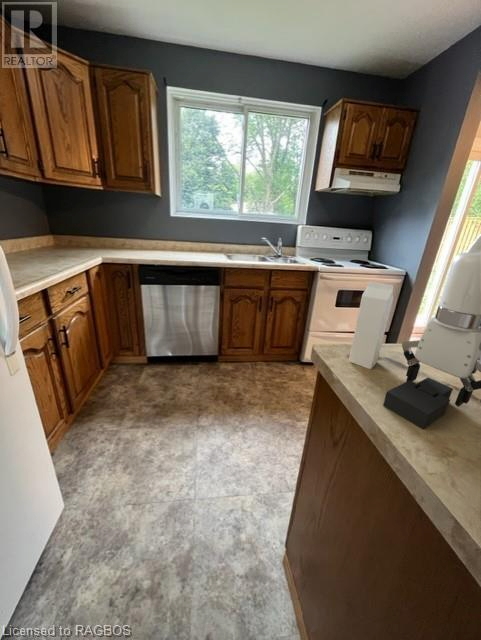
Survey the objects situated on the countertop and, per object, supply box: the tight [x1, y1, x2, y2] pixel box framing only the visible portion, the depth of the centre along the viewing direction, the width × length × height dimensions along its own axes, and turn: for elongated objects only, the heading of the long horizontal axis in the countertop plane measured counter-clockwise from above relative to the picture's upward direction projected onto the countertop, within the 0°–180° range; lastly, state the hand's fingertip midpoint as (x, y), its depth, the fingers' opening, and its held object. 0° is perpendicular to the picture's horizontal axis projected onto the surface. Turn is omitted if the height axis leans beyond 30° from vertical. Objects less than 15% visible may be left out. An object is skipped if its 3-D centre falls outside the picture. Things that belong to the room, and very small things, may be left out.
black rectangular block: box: [416, 376, 454, 399], centre depth 59 cm, size 7×5×4 cm
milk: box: [348, 281, 394, 370], centre depth 71 cm, size 6×6×22 cm
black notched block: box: [382, 380, 451, 430], centre depth 55 cm, size 9×8×4 cm
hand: (433, 391), depth 59 cm, fingers open, 9 cm apart
